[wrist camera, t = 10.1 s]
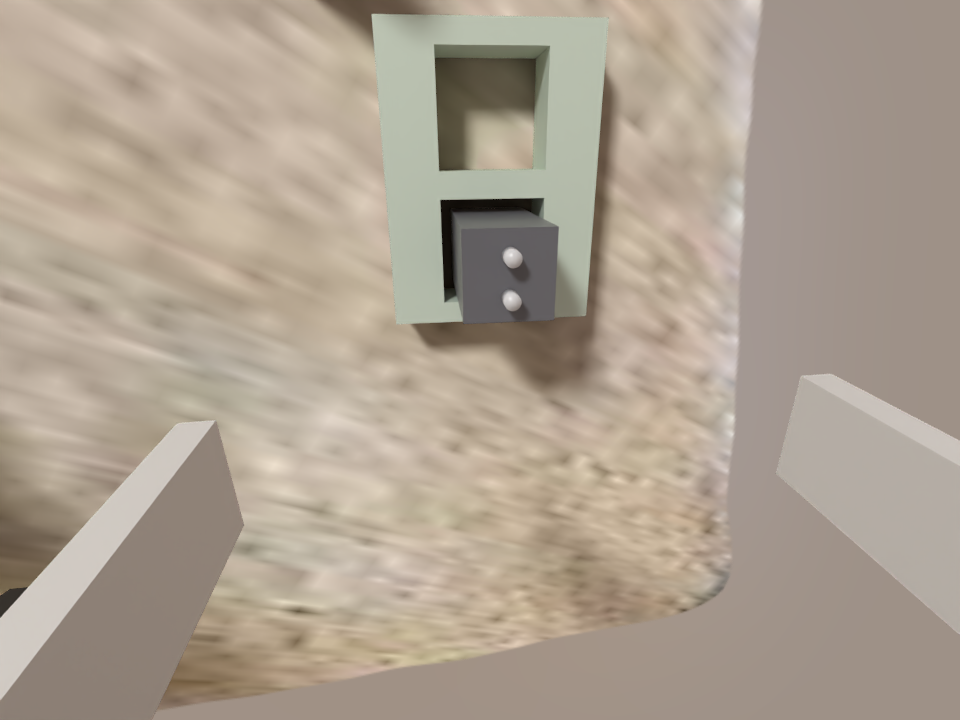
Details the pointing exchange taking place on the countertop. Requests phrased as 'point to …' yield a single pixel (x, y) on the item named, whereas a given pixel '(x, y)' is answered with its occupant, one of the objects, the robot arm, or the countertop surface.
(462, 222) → the charger
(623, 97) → the countertop surface
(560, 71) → the outlet plate
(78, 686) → the robot arm
